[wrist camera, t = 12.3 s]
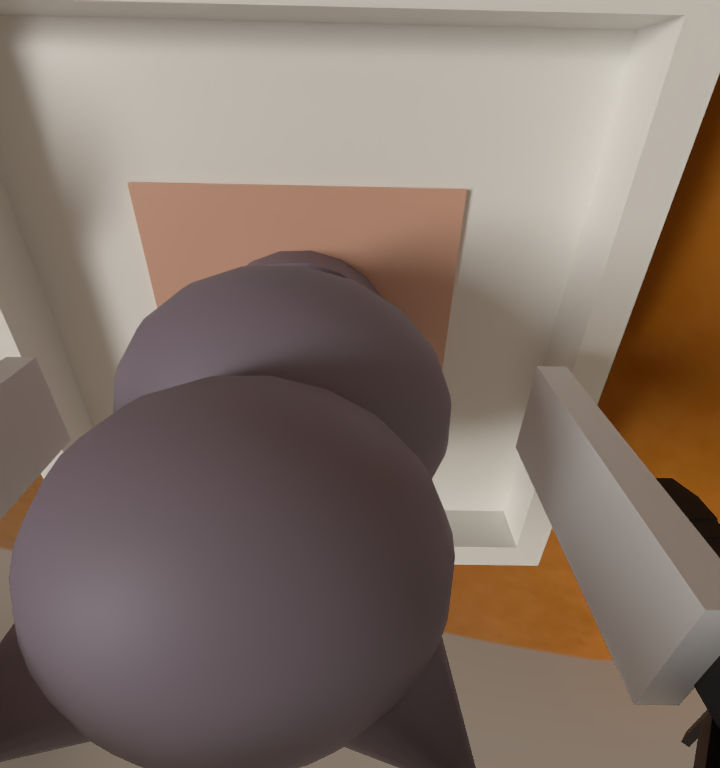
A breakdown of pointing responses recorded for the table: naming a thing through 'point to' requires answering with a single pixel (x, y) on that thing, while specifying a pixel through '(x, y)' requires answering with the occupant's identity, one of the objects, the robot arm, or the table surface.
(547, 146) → the tray
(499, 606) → the table surface
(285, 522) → the cat figurine
